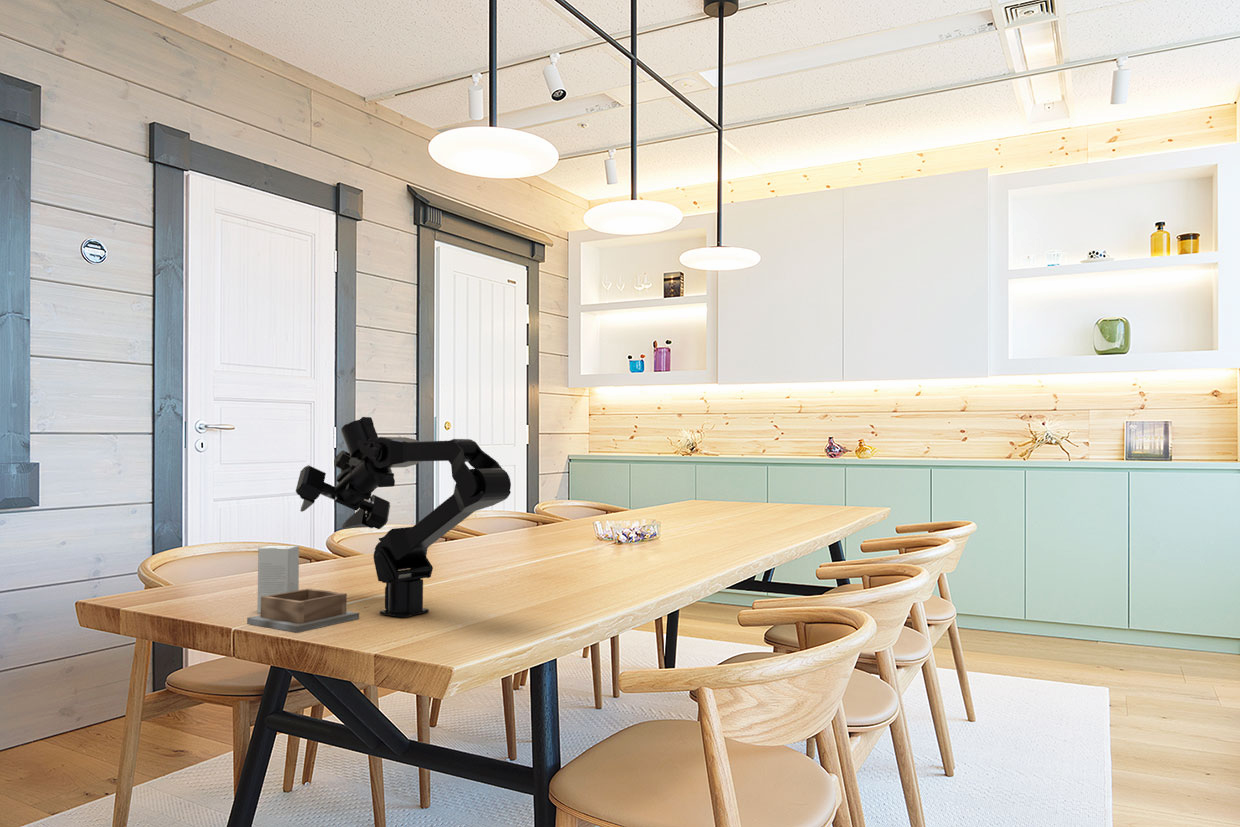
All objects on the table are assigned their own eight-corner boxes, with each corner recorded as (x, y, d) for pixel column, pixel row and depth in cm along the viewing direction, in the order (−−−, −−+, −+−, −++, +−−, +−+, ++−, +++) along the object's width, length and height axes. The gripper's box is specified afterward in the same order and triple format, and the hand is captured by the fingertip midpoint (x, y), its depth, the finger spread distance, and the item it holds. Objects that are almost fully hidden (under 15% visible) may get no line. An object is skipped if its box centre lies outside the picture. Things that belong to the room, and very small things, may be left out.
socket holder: (358, 618, 148) (359, 593, 148) (297, 632, 136) (297, 604, 137) (309, 611, 154) (310, 586, 154) (247, 623, 143) (247, 597, 143)
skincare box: (299, 609, 155) (300, 545, 156) (287, 614, 151) (289, 548, 152) (268, 609, 156) (269, 544, 156) (256, 613, 152) (257, 547, 152)
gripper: (410, 467, 171) (368, 505, 178) (327, 427, 161) (287, 469, 168) (404, 510, 163) (361, 547, 170) (317, 470, 153) (275, 512, 161)
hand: (322, 518), depth 168 cm, fingers open, 9 cm apart
